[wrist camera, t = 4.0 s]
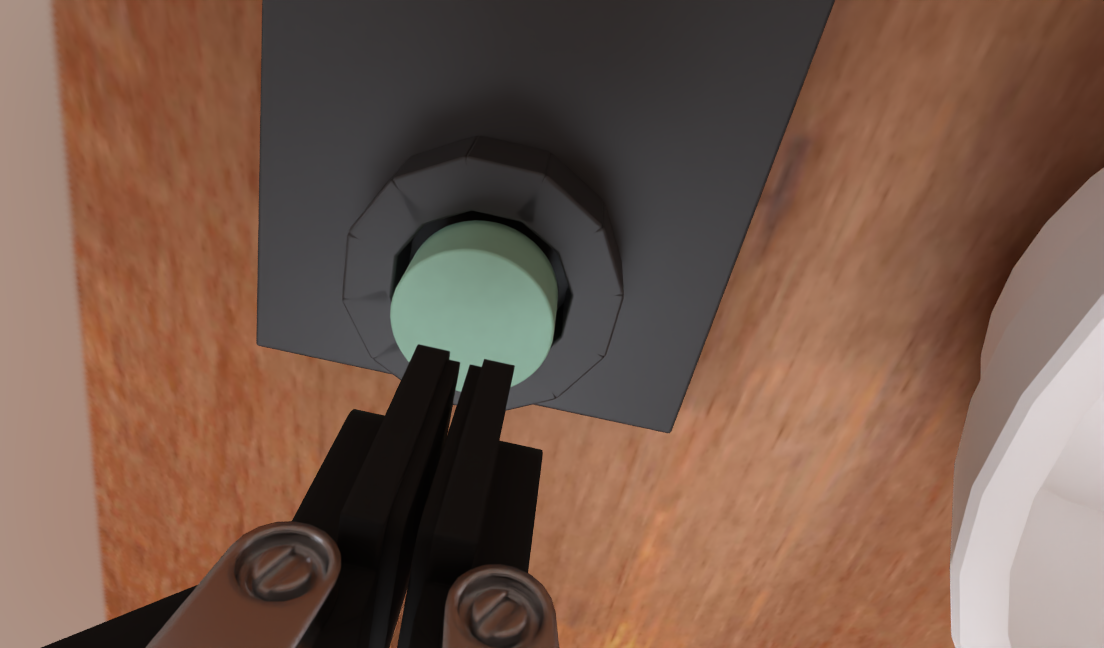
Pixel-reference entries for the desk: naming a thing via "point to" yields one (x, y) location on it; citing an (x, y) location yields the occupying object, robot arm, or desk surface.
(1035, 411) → the bowl
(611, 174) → the dark button base
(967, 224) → the desk surface
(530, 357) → the power button
